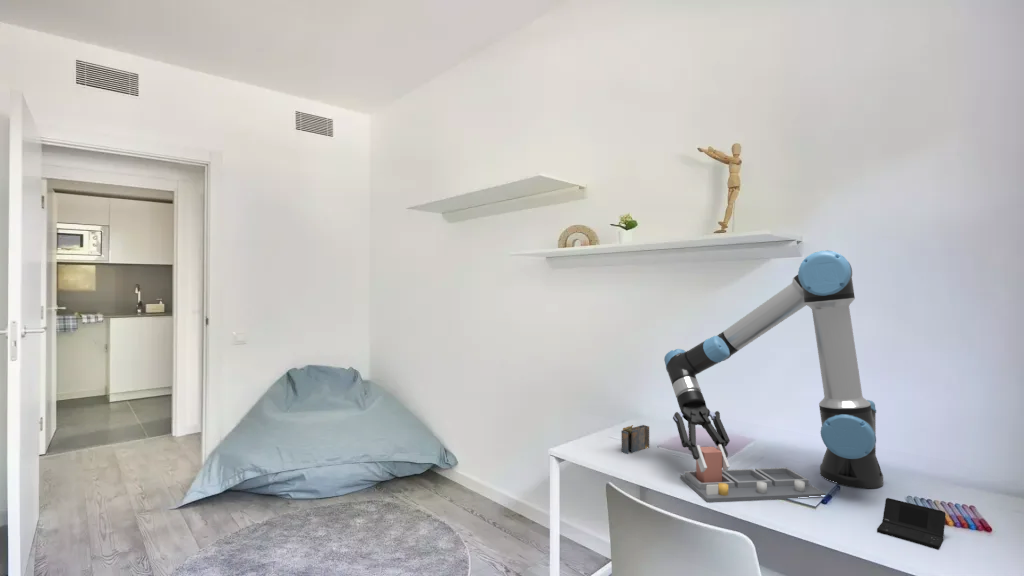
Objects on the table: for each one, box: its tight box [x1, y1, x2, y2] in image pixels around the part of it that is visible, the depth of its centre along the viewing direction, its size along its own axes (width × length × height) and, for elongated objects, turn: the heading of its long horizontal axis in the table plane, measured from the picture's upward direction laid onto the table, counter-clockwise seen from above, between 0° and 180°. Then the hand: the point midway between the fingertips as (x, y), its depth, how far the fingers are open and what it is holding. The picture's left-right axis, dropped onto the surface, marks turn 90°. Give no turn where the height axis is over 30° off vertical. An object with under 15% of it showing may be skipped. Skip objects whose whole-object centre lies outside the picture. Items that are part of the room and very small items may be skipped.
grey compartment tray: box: [679, 467, 827, 503], centre depth 142 cm, size 32×17×3 cm, turn 95°
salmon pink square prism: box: [695, 446, 723, 483], centre depth 143 cm, size 5×5×9 cm
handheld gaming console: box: [876, 497, 946, 550], centre depth 115 cm, size 12×7×10 cm
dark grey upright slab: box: [621, 424, 650, 455], centre depth 175 cm, size 11×3×10 cm, turn 128°
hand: (715, 469), depth 140 cm, fingers open, 6 cm apart
